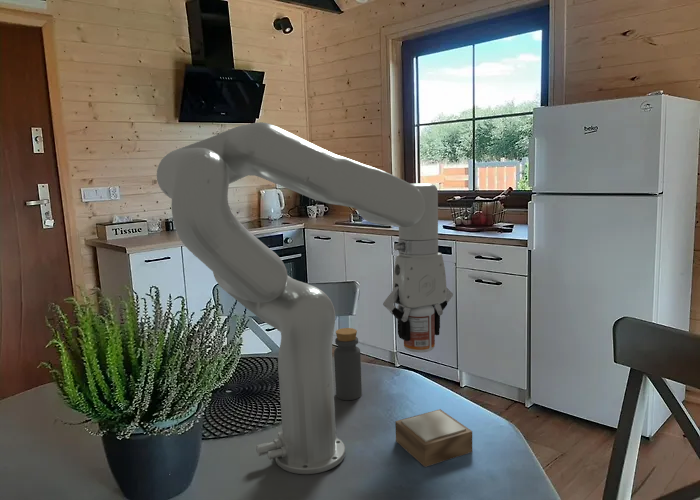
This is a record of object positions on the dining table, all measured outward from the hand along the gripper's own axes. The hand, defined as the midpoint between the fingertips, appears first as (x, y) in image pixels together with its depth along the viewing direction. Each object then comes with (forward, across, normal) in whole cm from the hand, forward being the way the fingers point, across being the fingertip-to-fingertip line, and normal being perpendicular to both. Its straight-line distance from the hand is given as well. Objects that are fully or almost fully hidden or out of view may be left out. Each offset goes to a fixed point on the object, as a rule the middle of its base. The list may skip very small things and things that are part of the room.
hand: (419, 335), depth 110 cm
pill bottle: (+3, 0, 0) cm, 3 cm away
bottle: (+18, -8, +17) cm, 26 cm away
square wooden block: (+17, -4, -11) cm, 21 cm away
